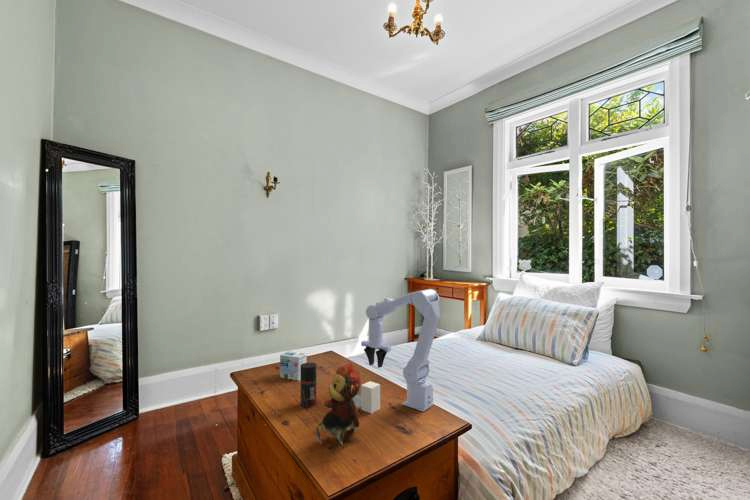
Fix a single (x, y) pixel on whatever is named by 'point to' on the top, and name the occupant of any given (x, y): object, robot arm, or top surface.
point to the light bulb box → (292, 365)
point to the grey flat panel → (357, 401)
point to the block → (370, 397)
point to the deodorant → (308, 385)
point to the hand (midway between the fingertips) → (375, 365)
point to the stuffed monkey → (342, 402)
